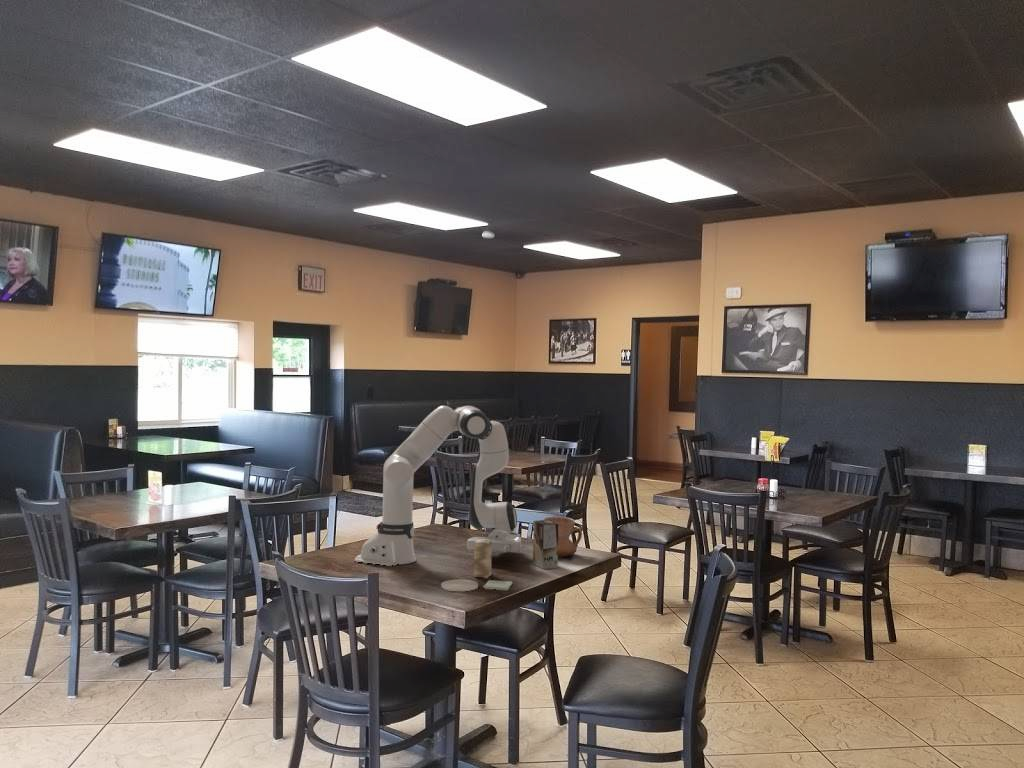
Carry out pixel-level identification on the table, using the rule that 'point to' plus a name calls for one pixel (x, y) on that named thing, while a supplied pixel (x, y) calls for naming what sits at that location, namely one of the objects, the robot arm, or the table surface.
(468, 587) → the cream saucer
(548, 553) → the coffee box
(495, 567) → the table surface
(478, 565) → the maple block
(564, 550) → the ceramic jug
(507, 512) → the robot arm
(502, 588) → the sage coaster
